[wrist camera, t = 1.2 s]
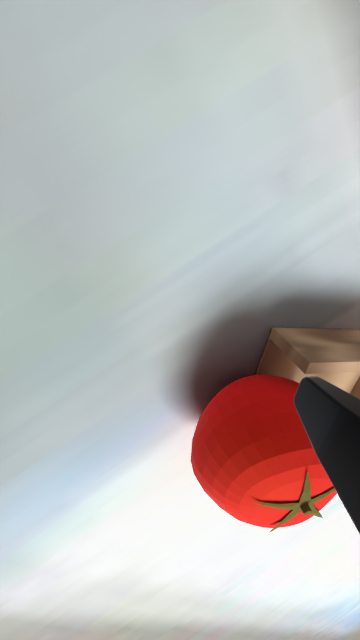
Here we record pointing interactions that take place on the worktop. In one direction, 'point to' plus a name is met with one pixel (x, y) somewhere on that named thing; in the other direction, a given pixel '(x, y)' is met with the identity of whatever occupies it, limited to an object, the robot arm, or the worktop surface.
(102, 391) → the worktop surface
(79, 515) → the worktop surface
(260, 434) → the tomato
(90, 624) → the worktop surface
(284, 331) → the tray
